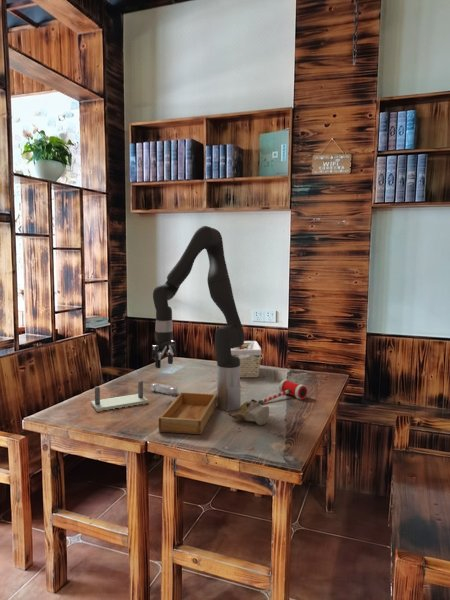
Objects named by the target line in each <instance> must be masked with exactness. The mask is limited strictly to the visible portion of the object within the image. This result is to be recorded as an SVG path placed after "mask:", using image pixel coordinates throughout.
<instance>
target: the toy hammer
mask: <svg viewBox="0 0 450 600" xmlns="http://www.w3.org/2000/svg"><path fill="white" fill-rule="evenodd" d="M278 390H279V392H280V393H277V394H273V395H271V396H269V397H266V398H264V399H260V400H258V401H257V402H258V403H259V405H260V406H261V405H263V404H265V403H267V402H270V401H271V400H275V399H277V398H280V397H281V396H284V395H290V396H292V397H294V398H296V399H297V400H303V399H305V398H306V397H307V396H308V387H307V386H306V385H305V384H298V383H294V382H292V381H291V380H289V379H287V378H286V379H283V380H281V381H280V383H279V385H278Z"/></svg>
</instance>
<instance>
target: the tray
mask: <svg viewBox="0 0 450 600" xmlns="http://www.w3.org/2000/svg"><path fill="white" fill-rule="evenodd" d="M216 408H217V393H216V394H215V393H195V392H180V393H178V395H177V397H175V399H174V400H173V401H172V403H171V404H169V406H168V407H167V408H166V409H165V410H164V411H163V412H162V414H161V415H160V416H159V417H158V432H160V433H161V432H162V433H179V434H190V435H191V434H193V435H201V434H202V432H203V431H204V429H205V426H206V425H207V424H208V423H209V420H210V419H211V417H212V416H213V414H214V411H215V410H216Z"/></svg>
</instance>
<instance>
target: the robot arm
mask: <svg viewBox="0 0 450 600" xmlns="http://www.w3.org/2000/svg"><path fill="white" fill-rule="evenodd" d="M204 250H205V252H206V254H207V258H208V262H209V268H208V272H207V273H208V274H207V279H206V280H207V286H208V292H209V296H210V298H211V299H212V301H213V303H214V304H215V305H216V306H217V307H218V309H219V310H220V312H221V313H222V314H223V316H224V318H225V321H226V322H225V323H226V325H223V326H220V327H218V328H216V331H215V333H214V334H215V335H214V346H215V347H214V350H215V358H216V362H217V363H216V364H217V365H216V366H217V367H216V368H217V370H216V371H217V372H216V375H217V376H216V384H217V386H216V387H217V388H216V394H217V406H216V408H218V409H220V410H224V411H228V412H229V411H234V410H239V409H240V410H241V406H242V404H241V403H242V402H241V397H242V396H241V395H242V393H241V392H242V391H241V388H242V386H241V377H240V359H239V358H238V357H236V356H232V355H231V348H237V347H239V348H240V347H241V346H242V345H243V343H244V341H246V340H245V339H246V338H245V332H244V328H243V325H242V322H241V319H240V316H239V313H238V309H237V305H236V302H235V297H234V294H233V288H232V284H231V283H232V282H231V279H230V276H229V272H228V271H229V270H228V267H227V262H226V258H225V250H224V243H223V236H222V234H221V232H220V230H218V229H216V228H213V227H211V226H208V225H203V226H200V227H198V228H197V230H196V231H195V232H194V233H193V236H192V237H191V239H190V241H189V243H188V245H186V248H185V251H184V252H183V253H182V255H181V256H180V259H179V260H178V262H177V263H176V264H175V265H174V266H173V268H171V270H170V271H169V273H168V274H167V276H166V281H165V283H164V284H160V285H157V286H155V288H154V289H153V290H152V291H153V292H152V299H153V304H154V308H155V330H154V331H155V341H156V344H155V345H154V344H152V345H151V360H152V359H153V360H155V361H154V363H155V365H154V367H155V368H156V369H160V368H161V367H162V366H161V364H162V363H161V359H162V357H163V355H164V354H165V353H166V354H167V364H169V365H173V364H174V356H175V354H176V353H177V342H176V340H173V338H174V337H173V336H174V335H173V333H174V328H173V327H174V326H173V310H172V309H173V308H172V307H171V306H169V302H168V301H170V300H172V299H173V298H174V297H175V296H176V294H177V293H178V291H179V289H180V286H181V285H182V284H183V282H185V280H186V279H187V278H188V276H189V275H190V274H191V271H192V270H193V267H194V262H195V260H196V259H197V257H198V256H199V255H200V253H201V252H202V251H204Z"/></svg>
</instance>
